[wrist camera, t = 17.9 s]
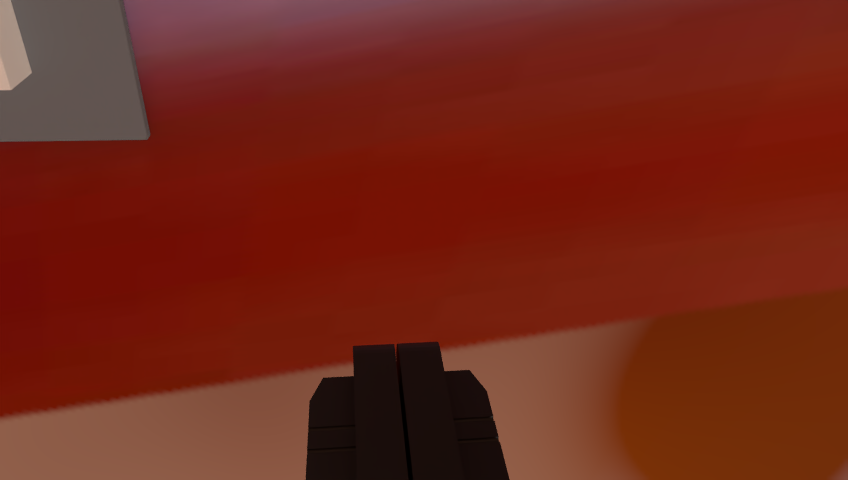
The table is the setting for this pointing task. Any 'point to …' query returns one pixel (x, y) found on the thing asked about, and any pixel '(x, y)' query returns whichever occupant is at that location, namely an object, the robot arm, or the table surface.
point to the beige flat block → (11, 49)
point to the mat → (74, 75)
